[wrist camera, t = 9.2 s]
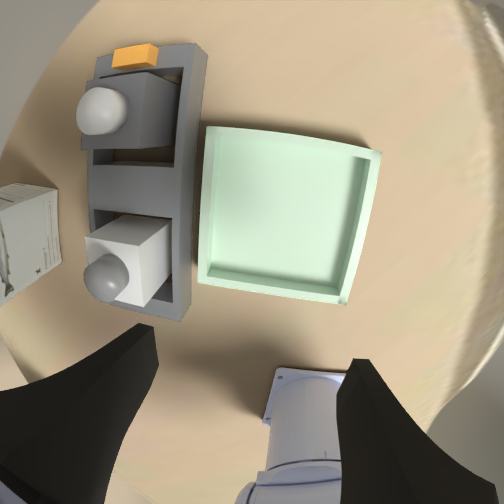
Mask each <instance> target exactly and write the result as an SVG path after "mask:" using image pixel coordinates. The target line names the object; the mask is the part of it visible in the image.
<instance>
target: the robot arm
mask: <svg viewBox="0 0 504 504" xmlns="http://www.w3.org/2000/svg"><path fill="white" fill-rule="evenodd" d="M158 366H159V363H158V357H157V350H156V343H155V335H154V327H152V326H148V325H144V324H141V323H138V324H137V325H135V326H133V327H132V328H130V329H129V330H127V331H126V332H125V333H123V334H122V335H120V336H119V337H117V338H116V339H114V340H113V341H111V342H110V343H108V344H107V345H105V346H104V347H102V348H101V349H99V350H98V351H96V352H94V353H93V354H91V355H89V356H88V357H86V358H84V359H83V360H81V361H79V362H77V363H76V364H74V365H72V366H70V367H68V368H66V369H64V370H62V371H60V372H58V373H56V374H54V375H52V376H49V377H47V378H44V379H41V380H39V381H36V382H33V383H30V384H27V385H24V386H21V387H17V388H13V389H9V390H4V391H0V504H104V501H105V496H106V492H107V487H108V484H109V480H110V476H111V473H112V470H113V467H114V464H115V461H116V458H117V455H118V452H119V449H120V447H121V444H122V441H123V439H124V436H125V434H126V432H127V430H128V428H129V426H130V424H131V422H132V421H133V419H134V417H135V415H136V413H137V411H138V409H139V408H140V406H141V404H142V402H143V400H144V398H145V397H146V395H147V393H148V391H149V389H150V387H151V384H152V382H153V379H154V377H155V374H156V371H157V369H158ZM280 376H281V377H280ZM262 424H263V425H266V426H270V435H269V444H268V453H267V461H266V469H265V471H259V472H258V474H257V481H256V482H250V483H248V484H247V485H246V486H245V487H244V488H243V489H242V490H241V491H240V493H239V494H238V496H237V498H236V501H235V504H499V501H498V496H497V492H496V488H495V485H494V484H492V483H491V482H489V481H487V480H485V479H483V478H481V477H479V476H477V475H475V474H473V473H472V472H471V471H469V470H468V469H466V468H465V467H463V466H461V465H460V464H459V463H457V462H456V461H455V460H454V459H452V458H451V457H450V456H449V455H447V454H446V453H445V452H444V451H443V450H442V449H440V448H439V447H438V446H437V445H436V444H435V443H434V442H433V441H432V440H431V439H430V438H429V437H428V436H427V435H426V434H425V433H424V432H423V431H422V430H421V428H420V427H419V426H418V425H417V424H416V423H415V421H414V420H413V419H412V418H411V417H410V415H409V414H408V413H407V412H406V410H405V409H404V408H403V407H402V405H401V404H400V403H399V401H398V400H397V399H396V397H395V396H394V394H393V393H392V392H391V390H390V389H389V387H388V386H387V385H386V383H385V382H384V380H383V379H382V377H381V376H380V375H379V373H378V372H377V370H376V369H375V367H374V366H373V365H372V363H371V362H370V360H369V359H354V358H353V360H352V363H351V365H350V367H349V369H348V371H347V373H331V372H319V371H309V370H299V369H291V368H282V367H280V368H278V369H276V372H275V376H274V379H273V383H272V387H271V391H270V395H269V399H268V402H267V406H266V410H265V413H264V417H263V421H262Z"/></svg>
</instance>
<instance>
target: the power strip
mask: <svg viewBox="0 0 504 504" xmlns="http://www.w3.org/2000/svg"><path fill="white" fill-rule="evenodd" d="M207 58H208V55H207V54H206V53H205V52H204V51H203V50H202V49H201V48H200V47H199V46H198V45H197V44H196V43H195V44H180V45H169V46H160V47H155V46H153V45H152V44H150V43H149V44H142V45H136V46H131V47H125V48H120V49H115V50H114V54H112V55H107V56H103V57H99V58H97V63H96V68H95V75H94V80H97V79H102V78H108V77H114V76H120V75H127V74H135V73H143V72H148V73H151V74H153V75H156V76H158V77H171V76H183V78H182V85H181V93H180V102H179V111H178V121H177V132H176V144H175V159H174V163H164V162H139V161H113V158H114V149H88V167H87V171H88V206H89V221H90V233H92V232H94V231H96V230H97V229H99V228H101V227H103V226H104V225H106V224H108V223H110V222H112V221H114V211H115V212H124V213H133V214H142V215H150V216H158V217H167V218H172V283H168V282H164V283H163V284H162V285H161V286H160V288H159V289H158V290H157V291H156V293H155V294H154V295H153V296H152V298H151V299H150V300H149V301H148V303H147V304H146V305H145V306H144V307H141V306H137V305H133V304H129V303H125V302H121V301H118V300H113V301H111V302H104V303H107V304H111V305H114V306H118V307H121V308H125V309H129V310H133V311H137V312H141V313H144V314H149V315H153V316H157V317H161V318H165V319H170V320H174V321H178V322H181V320H182V319H183V317H184V315H185V313H186V312H187V310H188V308H189V306H190V305H191V258H192V225H193V203H194V185H195V170H196V157H197V145H198V134H199V124H200V114H201V105H202V96H203V88H204V80H205V73H206V65H207ZM100 302H102V301H100Z"/></svg>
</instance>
